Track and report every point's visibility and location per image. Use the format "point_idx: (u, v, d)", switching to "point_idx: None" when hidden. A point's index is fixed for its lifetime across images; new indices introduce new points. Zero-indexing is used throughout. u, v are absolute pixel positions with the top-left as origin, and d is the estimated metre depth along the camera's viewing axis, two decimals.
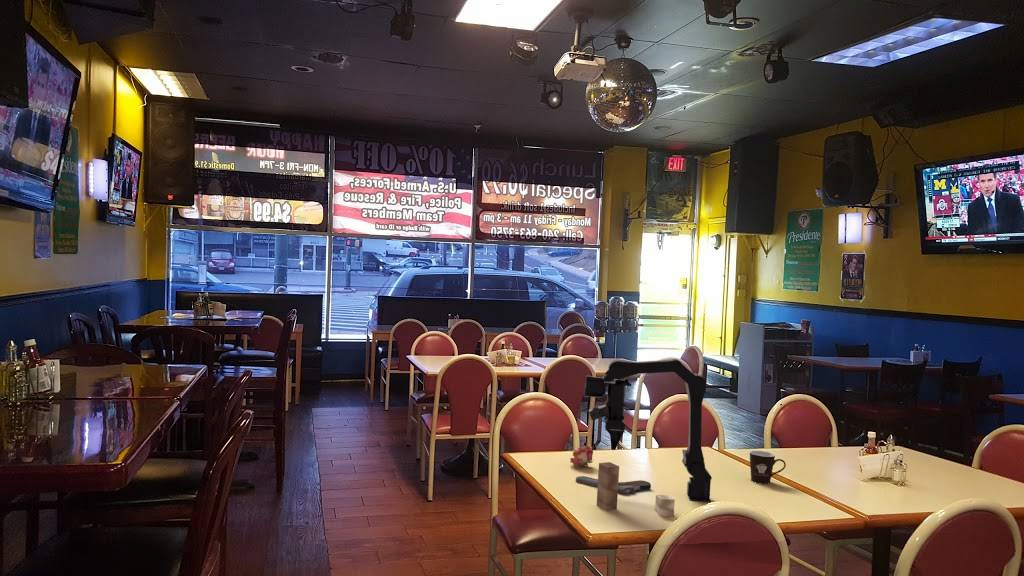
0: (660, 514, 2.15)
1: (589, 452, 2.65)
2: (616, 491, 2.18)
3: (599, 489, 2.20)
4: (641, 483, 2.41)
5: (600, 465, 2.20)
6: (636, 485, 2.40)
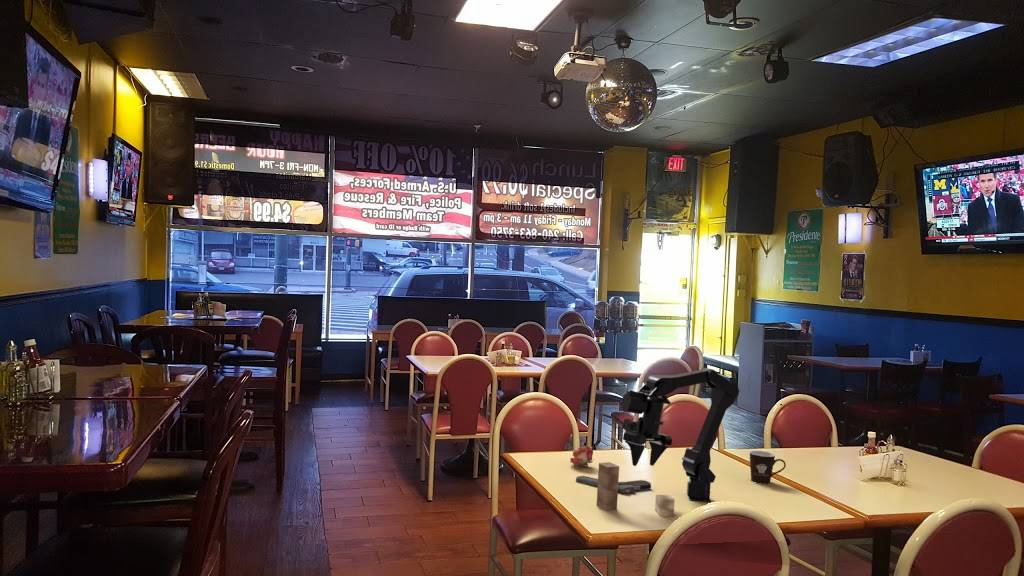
0: (660, 514, 2.15)
1: (589, 452, 2.65)
2: (616, 491, 2.18)
3: (599, 489, 2.20)
4: (641, 483, 2.42)
5: (600, 465, 2.20)
6: (637, 485, 2.40)
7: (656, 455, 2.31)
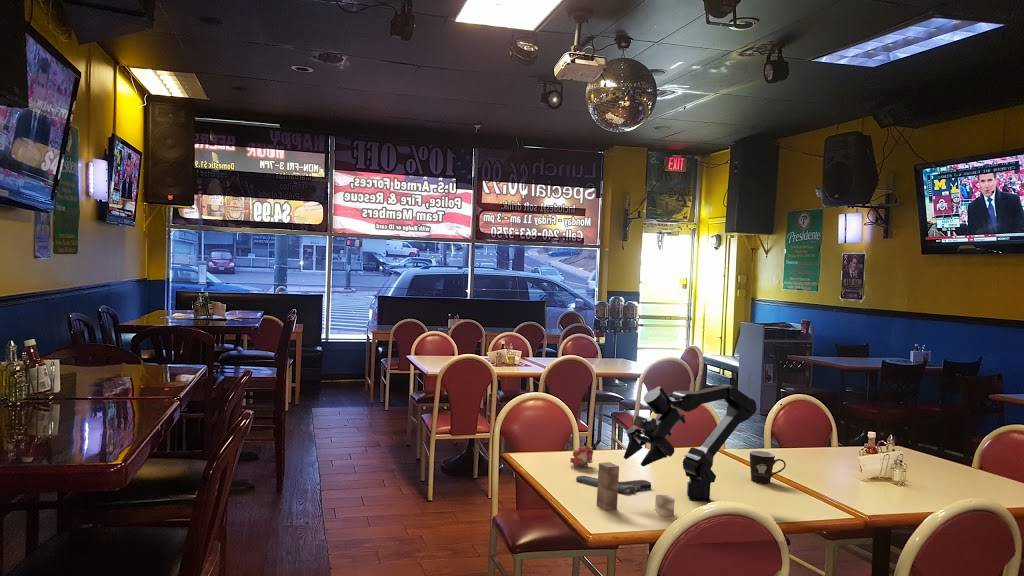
0: (660, 514, 2.15)
1: (589, 452, 2.65)
2: (616, 491, 2.18)
3: (599, 489, 2.20)
4: (641, 482, 2.42)
5: (600, 465, 2.20)
6: (637, 484, 2.40)
7: (632, 451, 2.29)
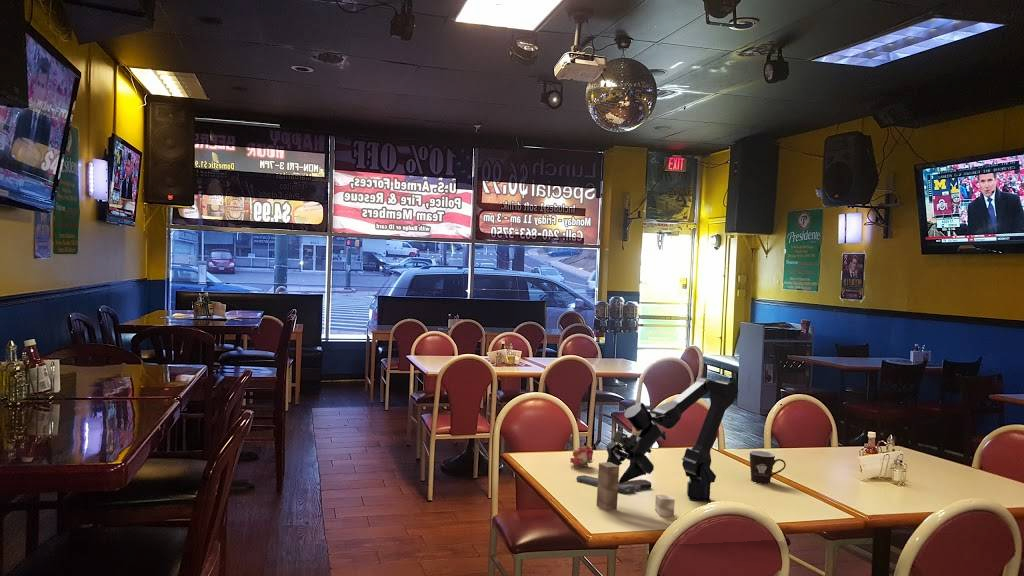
0: (660, 514, 2.15)
1: (589, 452, 2.65)
2: (616, 491, 2.18)
3: (599, 489, 2.20)
4: (641, 482, 2.42)
5: (600, 465, 2.20)
6: (637, 484, 2.41)
7: None
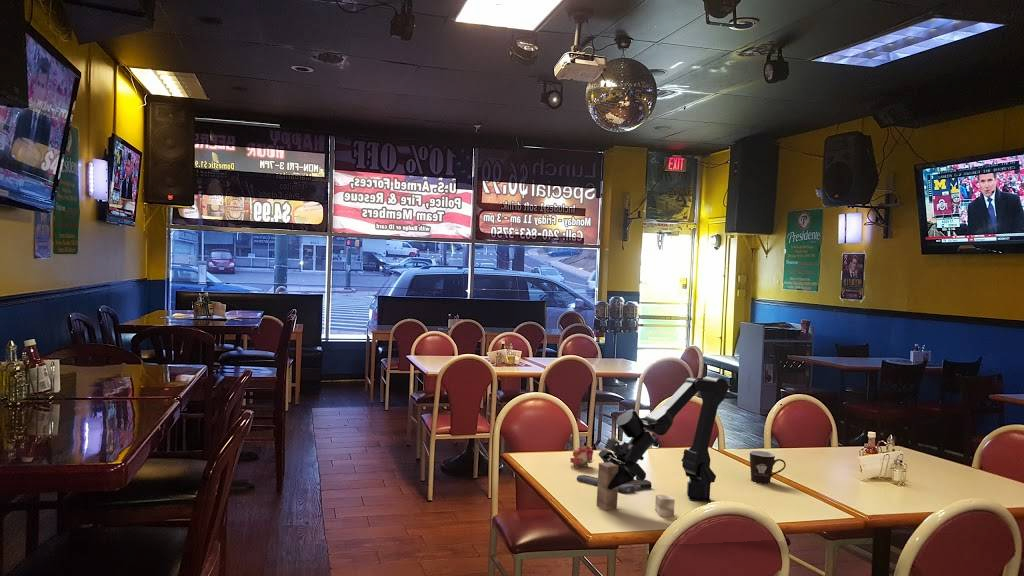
0: (660, 514, 2.15)
1: (589, 452, 2.65)
2: (616, 491, 2.18)
3: (599, 489, 2.20)
4: (642, 482, 2.43)
5: (600, 465, 2.20)
6: (637, 484, 2.41)
7: None
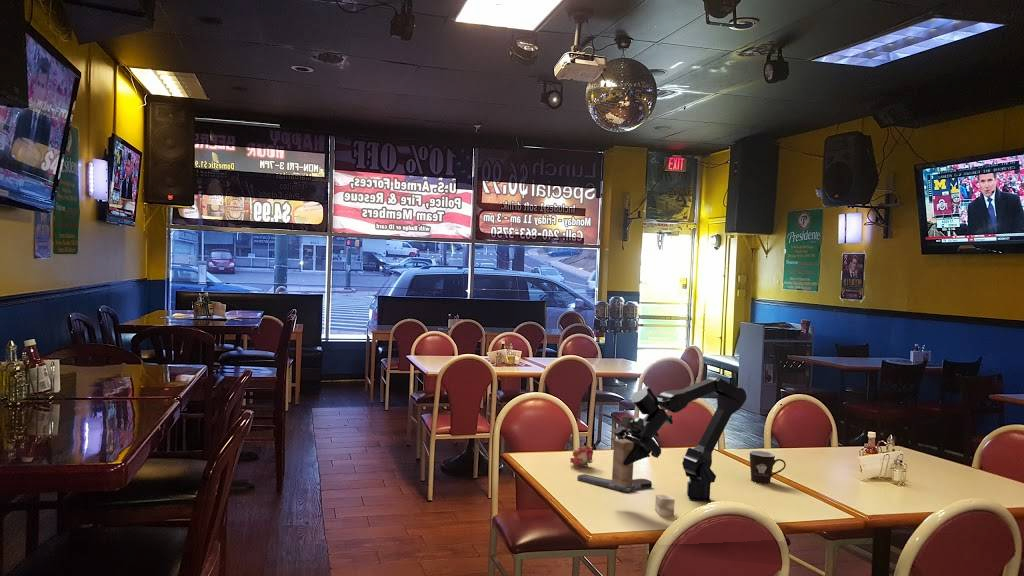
0: (660, 514, 2.15)
1: (589, 452, 2.65)
2: (631, 467, 2.20)
3: (614, 466, 2.22)
4: (642, 481, 2.44)
5: (616, 442, 2.22)
6: (637, 483, 2.42)
7: None
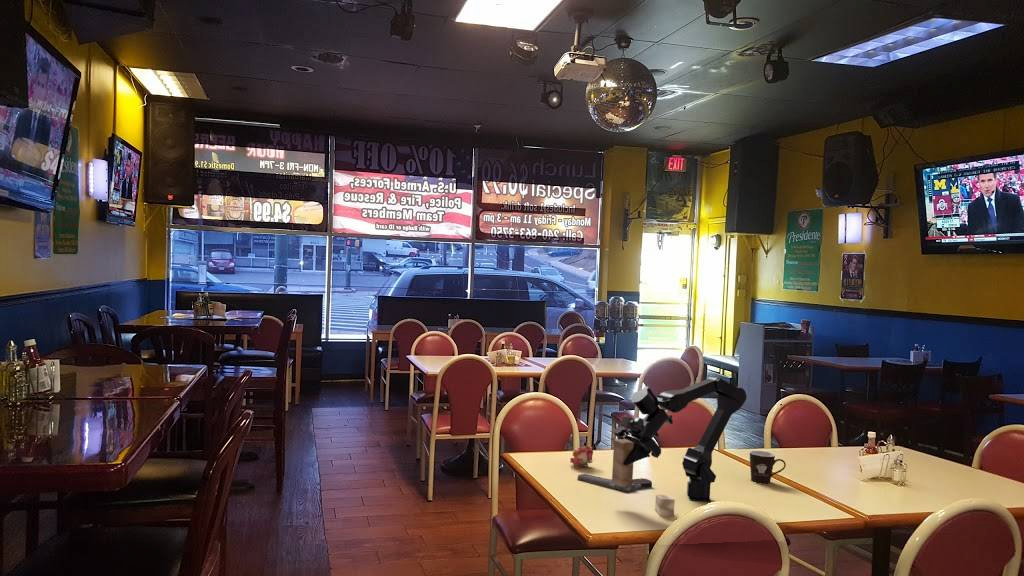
0: (660, 514, 2.15)
1: (589, 452, 2.65)
2: (631, 467, 2.20)
3: (614, 466, 2.22)
4: (642, 481, 2.44)
5: (616, 442, 2.22)
6: (638, 483, 2.42)
7: None
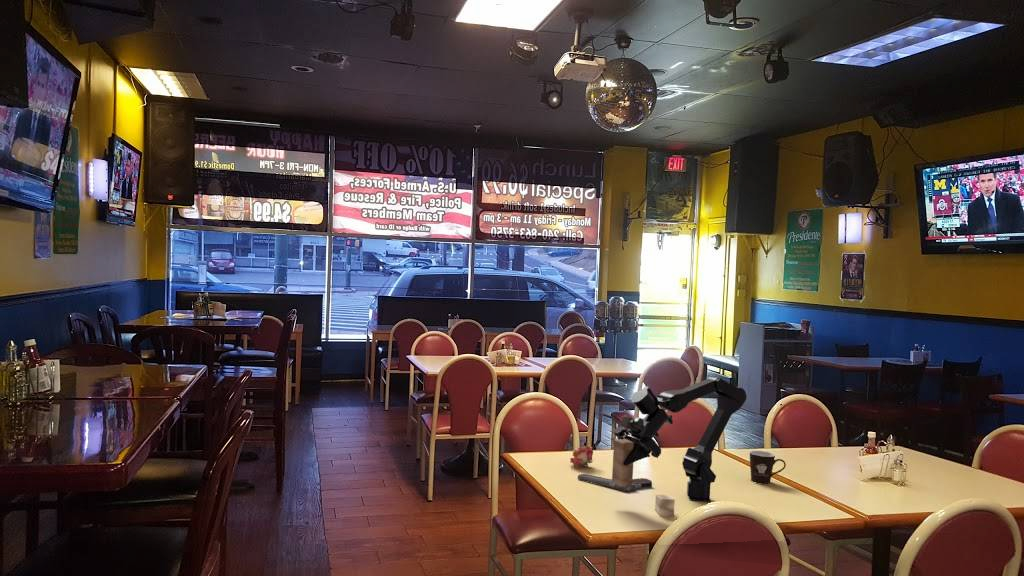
0: (660, 514, 2.15)
1: (589, 452, 2.65)
2: (631, 467, 2.20)
3: (614, 466, 2.22)
4: (642, 481, 2.44)
5: (616, 442, 2.22)
6: (638, 483, 2.43)
7: None
